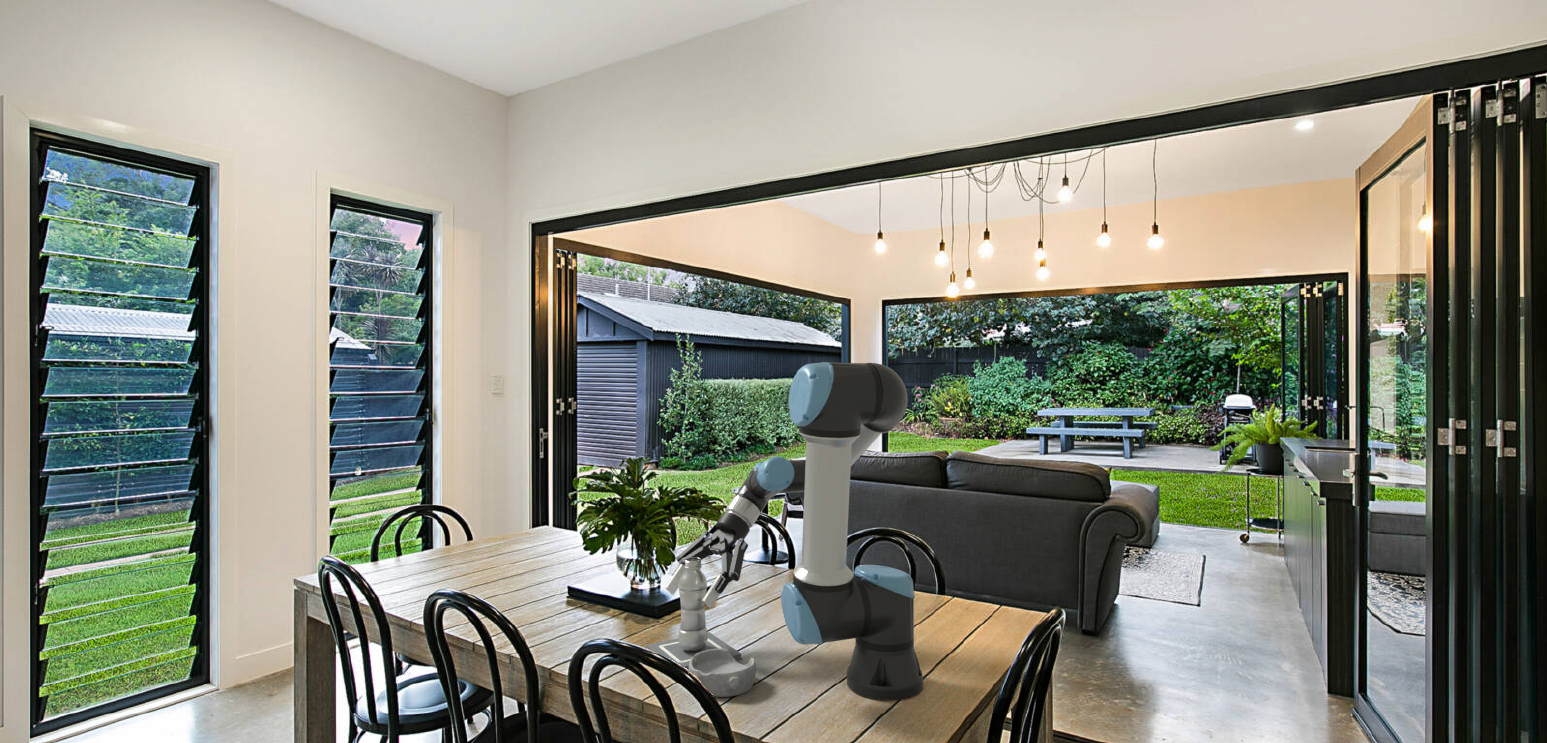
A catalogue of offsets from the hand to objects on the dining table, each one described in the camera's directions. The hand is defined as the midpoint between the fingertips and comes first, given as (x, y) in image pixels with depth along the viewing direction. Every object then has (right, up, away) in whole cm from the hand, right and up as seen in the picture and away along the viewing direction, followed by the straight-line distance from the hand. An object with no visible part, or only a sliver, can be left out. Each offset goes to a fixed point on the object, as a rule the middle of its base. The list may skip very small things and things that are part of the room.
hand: (687, 597), depth 163 cm
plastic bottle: (+1, -12, +1) cm, 12 cm away
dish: (+9, -13, -15) cm, 22 cm away
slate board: (+1, -13, +1) cm, 13 cm away
